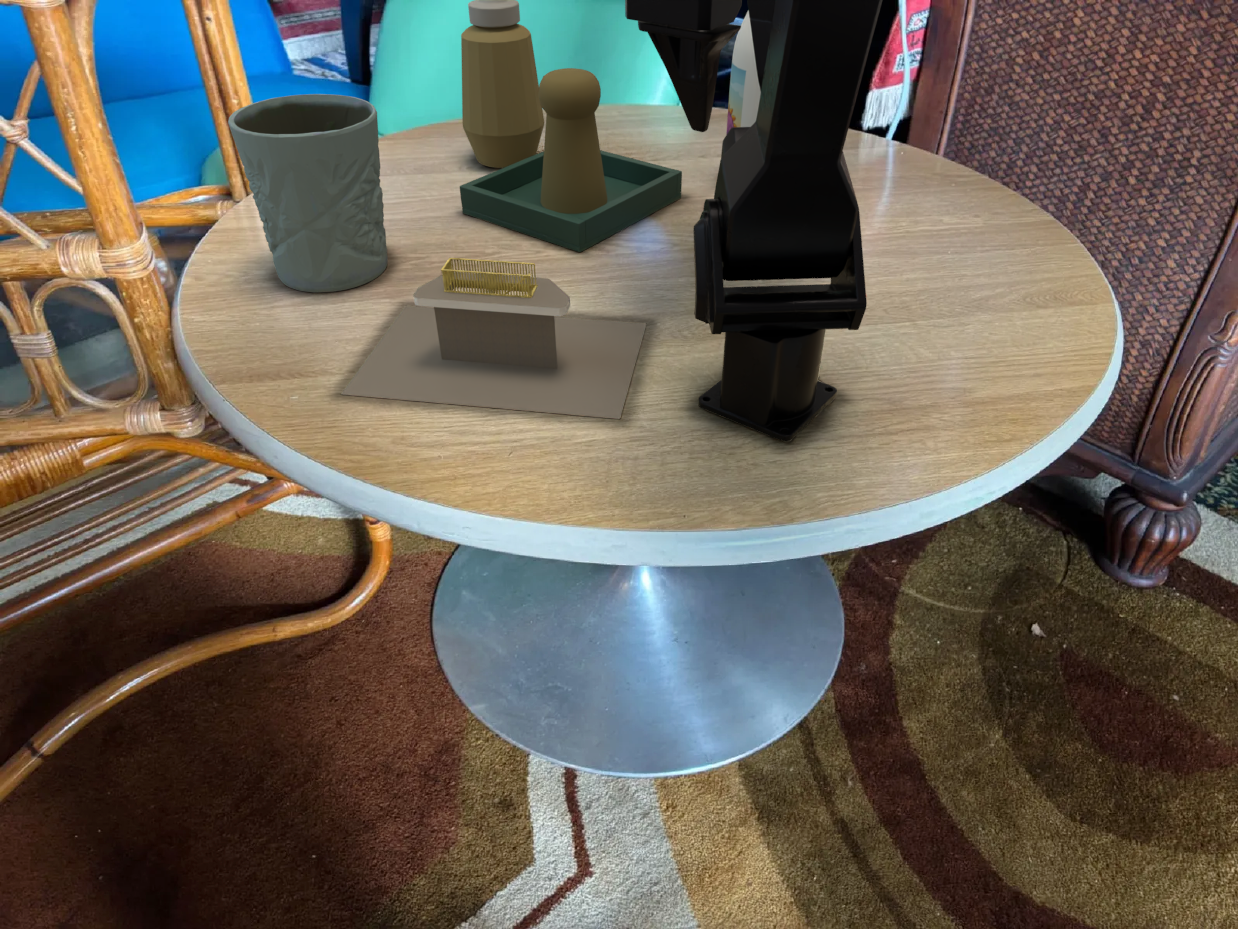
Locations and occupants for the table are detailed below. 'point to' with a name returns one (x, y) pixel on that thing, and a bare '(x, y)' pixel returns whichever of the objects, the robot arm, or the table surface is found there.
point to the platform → (501, 348)
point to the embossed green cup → (316, 187)
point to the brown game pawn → (571, 142)
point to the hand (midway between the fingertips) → (735, 113)
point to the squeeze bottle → (499, 85)
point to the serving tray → (518, 207)
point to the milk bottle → (743, 81)
